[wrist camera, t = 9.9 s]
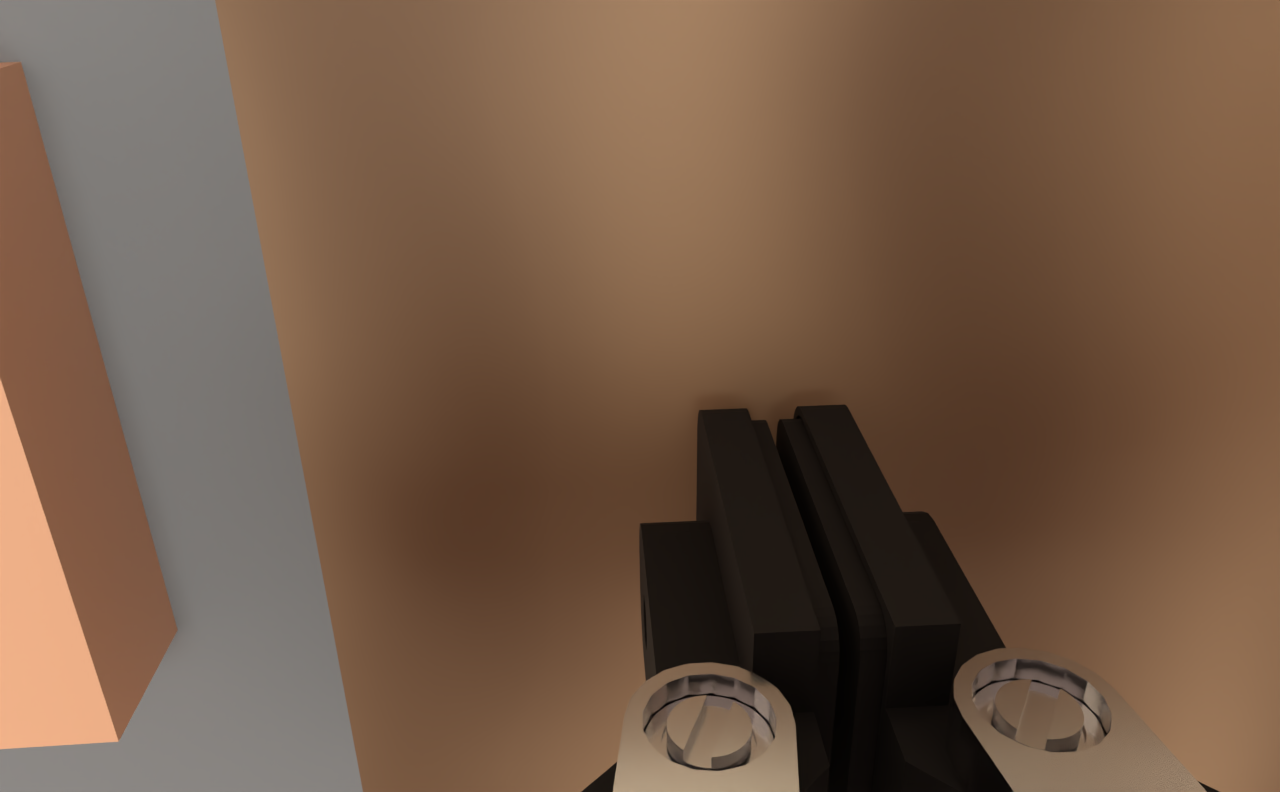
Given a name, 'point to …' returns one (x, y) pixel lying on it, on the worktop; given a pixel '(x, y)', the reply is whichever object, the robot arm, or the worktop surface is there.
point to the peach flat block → (63, 481)
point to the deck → (770, 331)
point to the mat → (187, 405)
